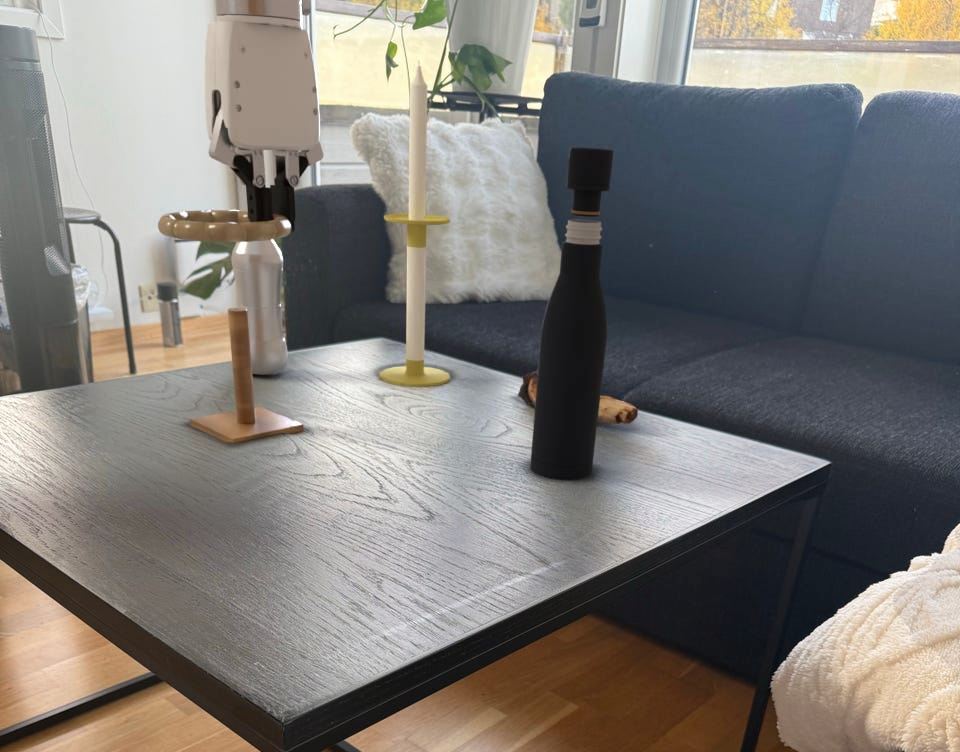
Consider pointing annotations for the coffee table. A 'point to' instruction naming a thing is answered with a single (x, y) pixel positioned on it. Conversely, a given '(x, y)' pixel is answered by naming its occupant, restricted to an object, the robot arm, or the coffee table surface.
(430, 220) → the candle
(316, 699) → the coffee table surface
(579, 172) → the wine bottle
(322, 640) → the coffee table surface
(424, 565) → the coffee table surface
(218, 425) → the stand
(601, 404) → the brown oblong lump
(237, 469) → the coffee table surface
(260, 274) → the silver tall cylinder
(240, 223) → the ring
